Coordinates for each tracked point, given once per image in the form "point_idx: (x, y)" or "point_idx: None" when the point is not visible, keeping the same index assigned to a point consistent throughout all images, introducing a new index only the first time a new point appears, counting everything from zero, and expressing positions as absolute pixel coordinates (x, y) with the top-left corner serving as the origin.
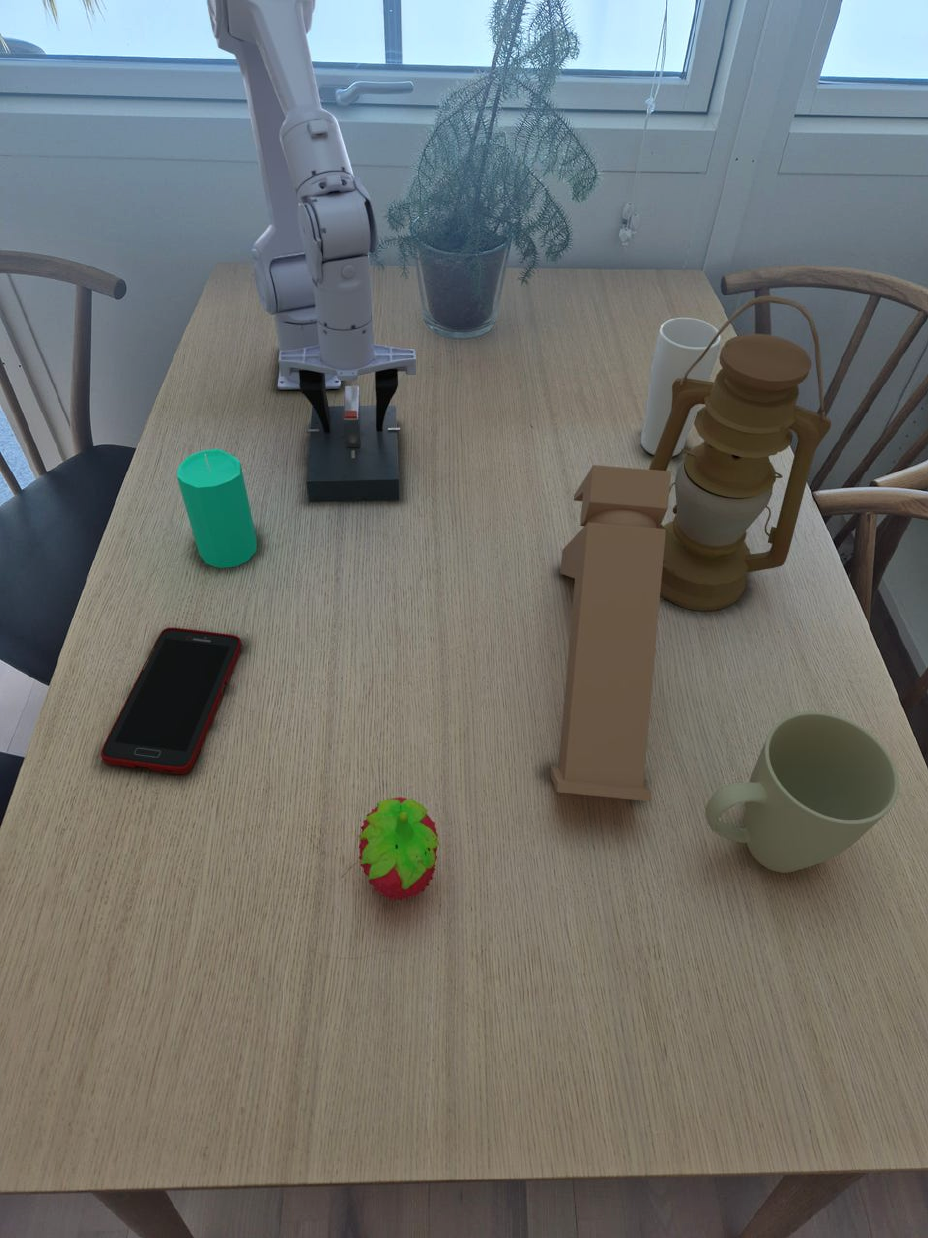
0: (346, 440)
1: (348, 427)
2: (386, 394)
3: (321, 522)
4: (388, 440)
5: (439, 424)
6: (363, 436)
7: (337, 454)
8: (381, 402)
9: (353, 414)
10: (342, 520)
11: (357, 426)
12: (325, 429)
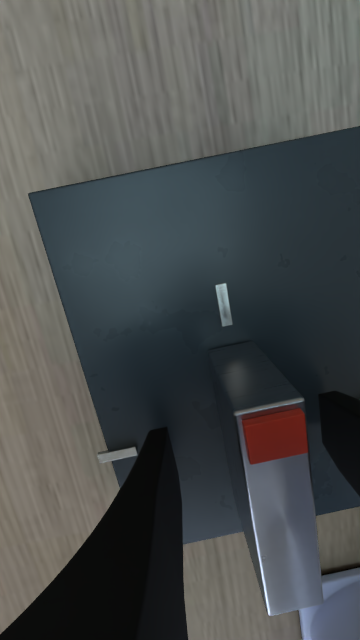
0: (259, 349)
1: (267, 378)
2: (65, 609)
3: (269, 57)
4: (122, 400)
5: (42, 518)
6: (206, 404)
7: (276, 298)
8: (123, 537)
9: (263, 433)
10: (208, 77)
11: (229, 389)
12: (340, 394)
